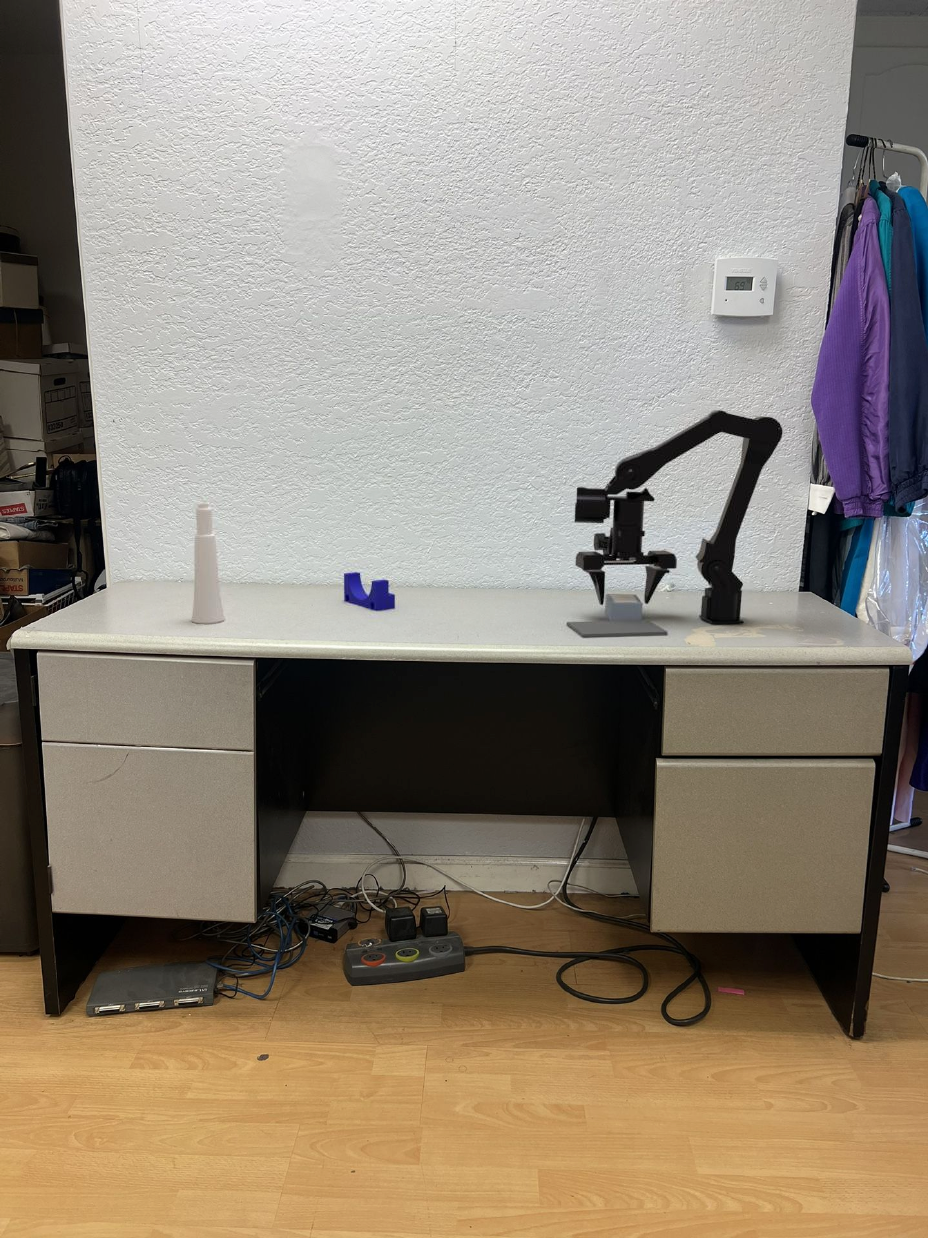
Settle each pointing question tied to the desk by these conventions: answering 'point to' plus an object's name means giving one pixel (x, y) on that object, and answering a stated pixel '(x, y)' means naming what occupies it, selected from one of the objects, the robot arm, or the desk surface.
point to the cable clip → (377, 596)
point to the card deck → (623, 607)
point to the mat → (616, 628)
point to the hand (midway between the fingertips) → (623, 604)
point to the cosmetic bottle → (206, 571)
